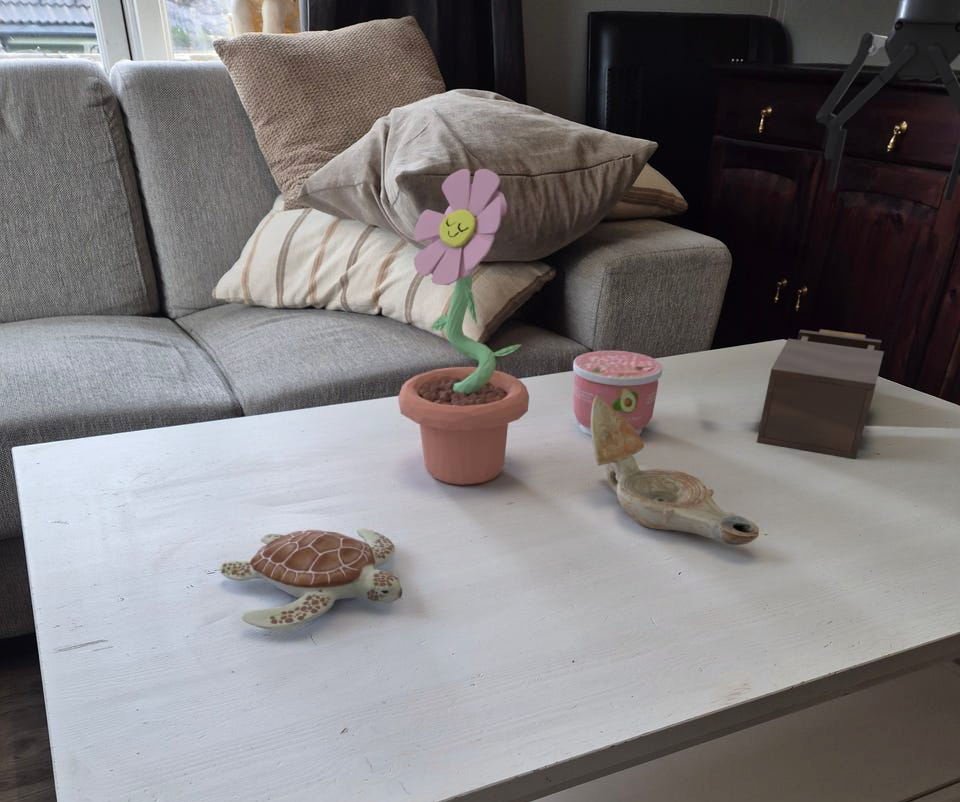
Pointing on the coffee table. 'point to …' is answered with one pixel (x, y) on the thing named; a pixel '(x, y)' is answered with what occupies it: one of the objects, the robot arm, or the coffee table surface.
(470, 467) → the decorative flower
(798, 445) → the cabinet
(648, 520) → the oil lamp
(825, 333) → the drawer
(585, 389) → the container
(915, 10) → the robot arm
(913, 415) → the coffee table surface
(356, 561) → the decorative turtle
